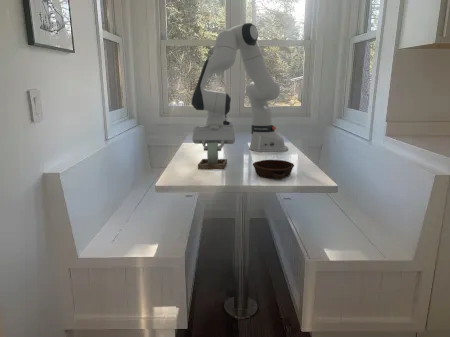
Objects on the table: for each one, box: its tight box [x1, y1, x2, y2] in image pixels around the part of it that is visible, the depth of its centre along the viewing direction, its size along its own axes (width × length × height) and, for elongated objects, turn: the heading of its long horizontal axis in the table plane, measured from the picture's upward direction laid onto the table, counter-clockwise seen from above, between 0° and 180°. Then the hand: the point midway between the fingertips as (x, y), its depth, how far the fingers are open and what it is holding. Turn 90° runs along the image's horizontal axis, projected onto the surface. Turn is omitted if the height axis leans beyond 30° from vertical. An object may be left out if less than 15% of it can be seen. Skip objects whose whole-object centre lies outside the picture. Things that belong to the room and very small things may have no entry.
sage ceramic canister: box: [206, 142, 219, 164], centre depth 167 cm, size 5×5×10 cm
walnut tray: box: [197, 158, 228, 170], centre depth 168 cm, size 12×12×2 cm
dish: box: [252, 159, 295, 180], centre depth 152 cm, size 18×22×5 cm
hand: (212, 150), depth 166 cm, fingers open, 5 cm apart
